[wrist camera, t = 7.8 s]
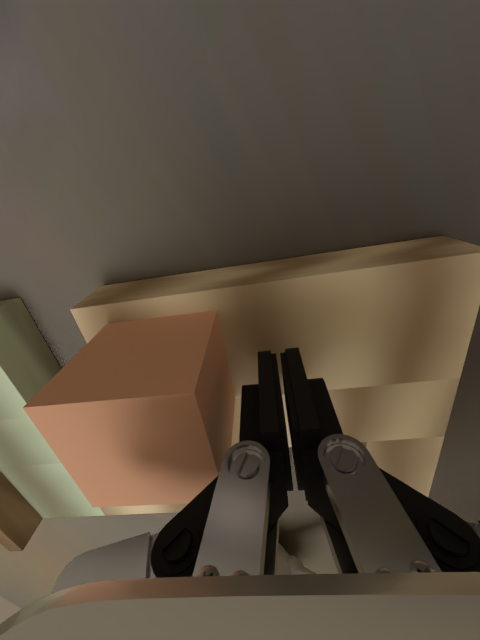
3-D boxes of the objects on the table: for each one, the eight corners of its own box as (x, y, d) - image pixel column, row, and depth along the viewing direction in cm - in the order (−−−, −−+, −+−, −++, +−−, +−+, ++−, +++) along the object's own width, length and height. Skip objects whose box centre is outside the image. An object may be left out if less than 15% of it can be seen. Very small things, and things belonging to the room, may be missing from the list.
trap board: (443, 235, 13) (547, 266, 8) (403, 457, 20) (447, 538, 15) (-72, 311, 16) (-201, 363, 11) (56, 479, 23) (9, 551, 18)
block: (216, 310, 12) (194, 392, 7) (235, 397, 14) (227, 501, 9) (107, 323, 12) (22, 407, 8) (142, 405, 14) (92, 507, 10)
